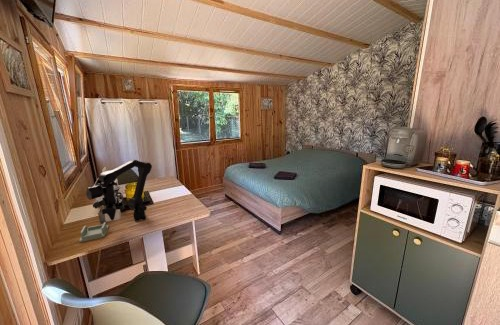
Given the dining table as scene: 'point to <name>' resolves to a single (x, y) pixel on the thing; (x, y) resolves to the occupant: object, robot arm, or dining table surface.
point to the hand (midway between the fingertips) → (113, 217)
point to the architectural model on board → (101, 216)
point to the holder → (93, 232)
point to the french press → (116, 189)
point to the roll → (117, 216)
